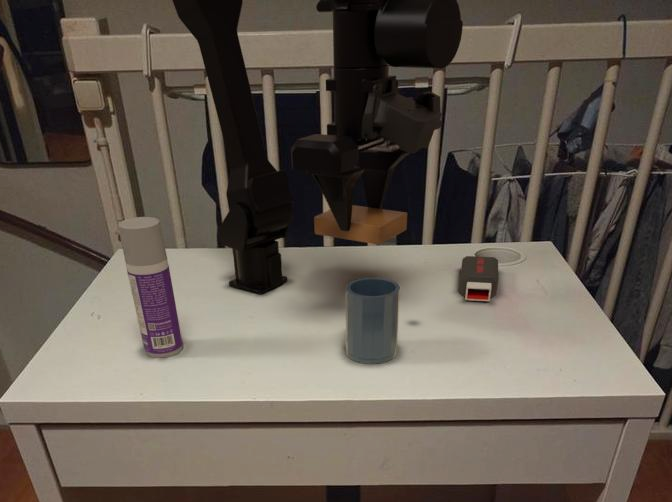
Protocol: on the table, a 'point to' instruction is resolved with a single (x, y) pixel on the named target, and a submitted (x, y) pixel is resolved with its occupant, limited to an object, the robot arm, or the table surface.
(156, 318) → the container
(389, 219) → the wooden block
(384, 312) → the cup
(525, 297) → the table surface
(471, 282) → the usb drive
